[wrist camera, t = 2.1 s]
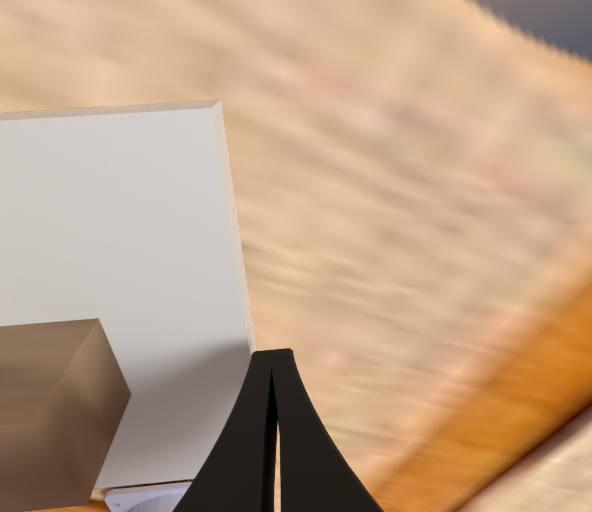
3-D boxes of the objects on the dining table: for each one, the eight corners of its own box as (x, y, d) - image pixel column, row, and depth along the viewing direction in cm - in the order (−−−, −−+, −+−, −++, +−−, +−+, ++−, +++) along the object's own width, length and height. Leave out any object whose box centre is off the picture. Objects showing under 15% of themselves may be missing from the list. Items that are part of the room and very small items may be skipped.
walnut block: (131, 394, 14) (87, 504, 11) (30, 403, 14) (-49, 518, 10) (98, 318, 12) (30, 423, 9) (-20, 327, 12) (-138, 439, 8)
